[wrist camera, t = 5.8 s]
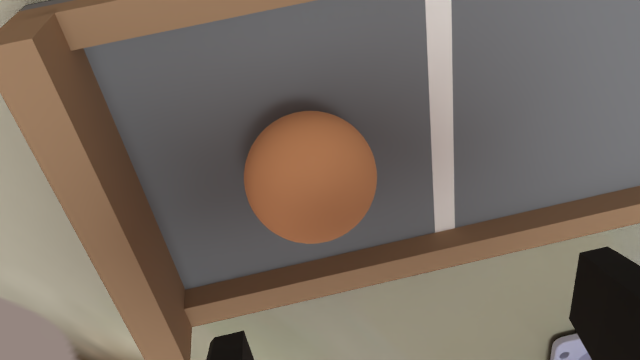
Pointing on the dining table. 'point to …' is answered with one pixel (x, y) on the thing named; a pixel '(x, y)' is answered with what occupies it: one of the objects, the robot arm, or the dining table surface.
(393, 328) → the dining table surface
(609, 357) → the robot arm
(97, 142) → the lane
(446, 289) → the dining table surface
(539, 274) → the dining table surface
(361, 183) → the ball
